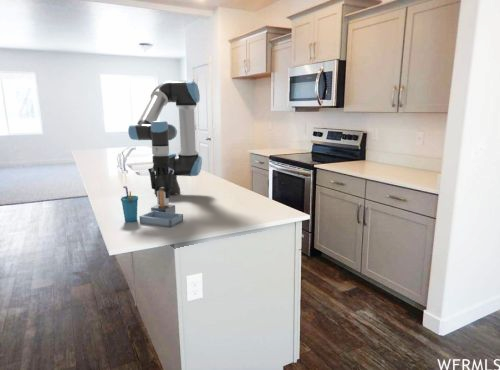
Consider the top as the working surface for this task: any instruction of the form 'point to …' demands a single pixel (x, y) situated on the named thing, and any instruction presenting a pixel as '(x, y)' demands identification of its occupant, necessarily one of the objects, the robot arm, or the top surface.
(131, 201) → the cup
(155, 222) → the tray
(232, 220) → the top surface
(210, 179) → the top surface
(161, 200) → the pin
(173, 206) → the hitch block
